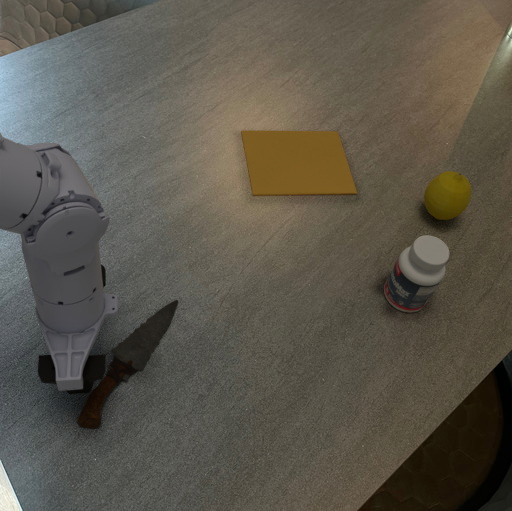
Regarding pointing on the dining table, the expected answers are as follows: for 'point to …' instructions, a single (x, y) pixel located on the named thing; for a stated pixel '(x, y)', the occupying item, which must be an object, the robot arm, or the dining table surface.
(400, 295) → the pill bottle
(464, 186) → the fruit
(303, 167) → the cloth
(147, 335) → the knife
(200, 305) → the dining table surface
